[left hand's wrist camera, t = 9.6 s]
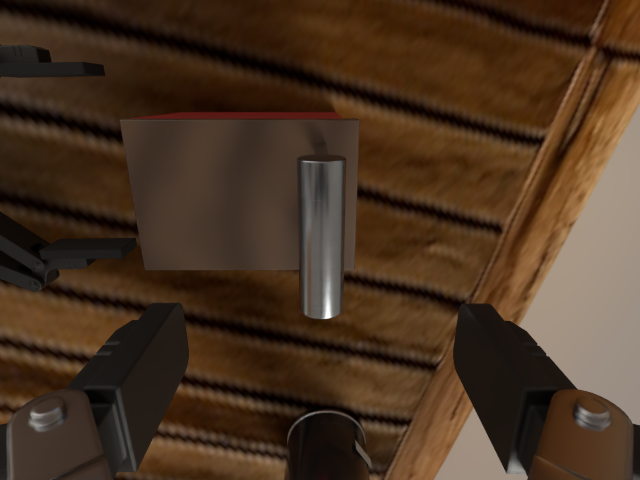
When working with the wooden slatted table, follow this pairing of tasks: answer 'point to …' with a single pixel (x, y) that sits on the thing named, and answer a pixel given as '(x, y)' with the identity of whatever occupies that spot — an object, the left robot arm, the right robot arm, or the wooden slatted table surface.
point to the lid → (248, 198)
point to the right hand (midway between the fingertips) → (113, 165)
